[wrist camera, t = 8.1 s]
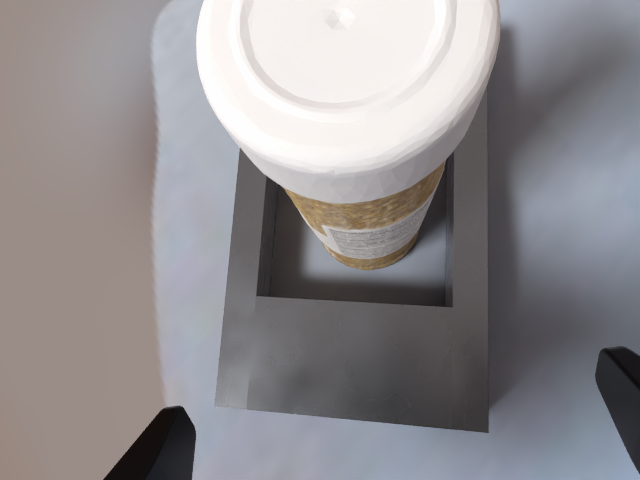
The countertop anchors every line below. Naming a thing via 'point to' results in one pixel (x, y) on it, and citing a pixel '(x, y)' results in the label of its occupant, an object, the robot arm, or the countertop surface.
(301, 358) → the gray rectangular frame
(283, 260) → the countertop surface
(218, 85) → the sprinkles bottle
